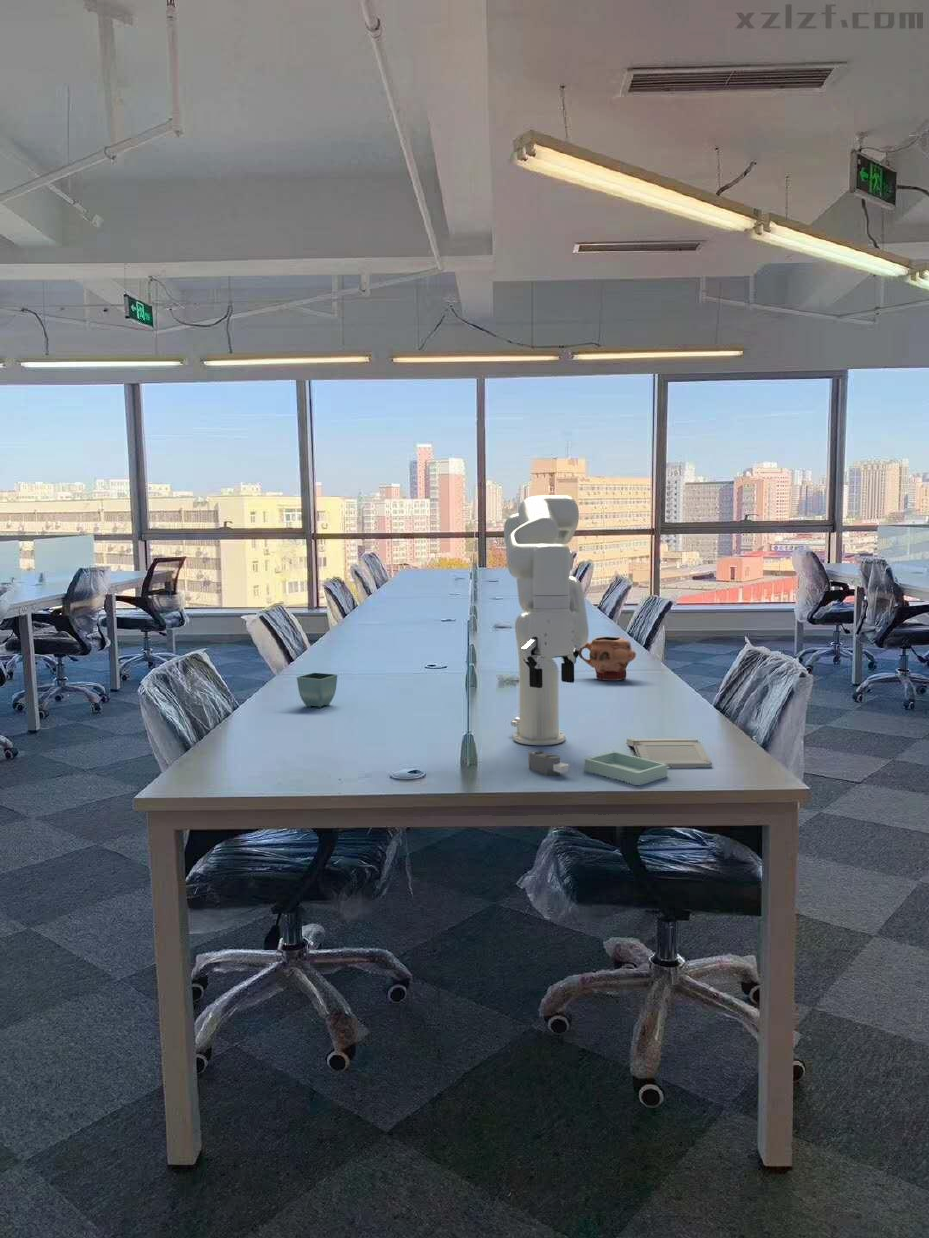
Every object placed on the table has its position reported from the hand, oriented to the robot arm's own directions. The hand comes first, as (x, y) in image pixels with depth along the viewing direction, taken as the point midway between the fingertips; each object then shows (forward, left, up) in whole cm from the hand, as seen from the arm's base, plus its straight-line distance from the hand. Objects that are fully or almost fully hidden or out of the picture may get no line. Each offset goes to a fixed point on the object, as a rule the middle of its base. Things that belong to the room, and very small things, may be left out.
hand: (552, 684), depth 187 cm
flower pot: (-94, -2, -19) cm, 96 cm away
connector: (0, -1, -19) cm, 19 cm away
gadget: (+8, +29, -20) cm, 35 cm away
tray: (+12, +10, -19) cm, 24 cm away
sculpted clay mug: (-65, +91, -19) cm, 113 cm away
